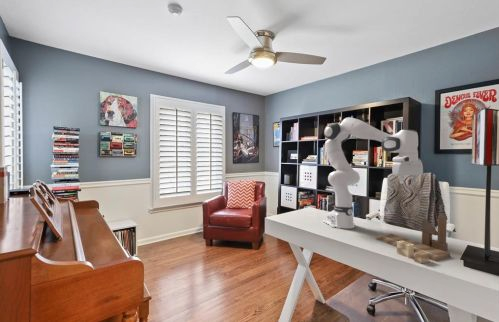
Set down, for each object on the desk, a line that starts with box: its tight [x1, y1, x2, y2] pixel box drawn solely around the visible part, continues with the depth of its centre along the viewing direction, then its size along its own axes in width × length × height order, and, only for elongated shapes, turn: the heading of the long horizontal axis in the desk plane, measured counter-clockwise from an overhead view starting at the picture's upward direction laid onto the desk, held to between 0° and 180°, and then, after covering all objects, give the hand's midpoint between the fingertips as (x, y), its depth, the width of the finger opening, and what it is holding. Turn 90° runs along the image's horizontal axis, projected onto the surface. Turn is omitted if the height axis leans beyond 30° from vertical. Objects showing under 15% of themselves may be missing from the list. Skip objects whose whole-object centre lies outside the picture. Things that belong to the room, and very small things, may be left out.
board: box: [376, 233, 452, 262], centre depth 132 cm, size 32×12×2 cm, turn 22°
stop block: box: [413, 251, 430, 265], centre depth 115 cm, size 3×6×4 cm, turn 112°
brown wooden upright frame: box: [421, 214, 449, 252], centre depth 132 cm, size 4×11×18 cm, turn 29°
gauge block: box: [396, 241, 414, 259], centre depth 122 cm, size 6×4×6 cm, turn 22°
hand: (407, 183), depth 136 cm, fingers open, 8 cm apart
